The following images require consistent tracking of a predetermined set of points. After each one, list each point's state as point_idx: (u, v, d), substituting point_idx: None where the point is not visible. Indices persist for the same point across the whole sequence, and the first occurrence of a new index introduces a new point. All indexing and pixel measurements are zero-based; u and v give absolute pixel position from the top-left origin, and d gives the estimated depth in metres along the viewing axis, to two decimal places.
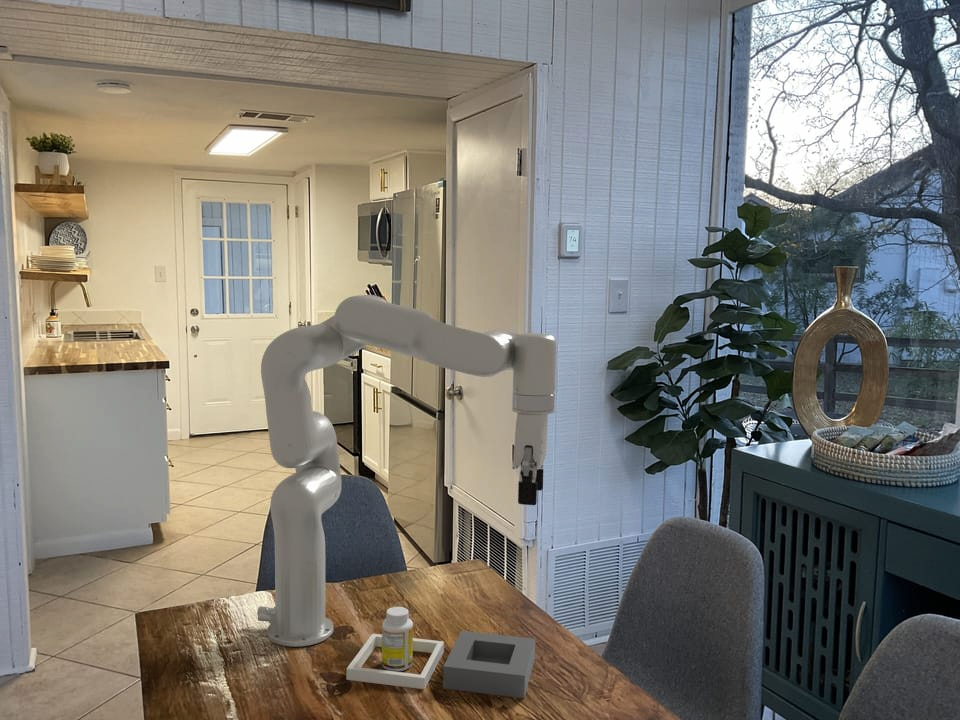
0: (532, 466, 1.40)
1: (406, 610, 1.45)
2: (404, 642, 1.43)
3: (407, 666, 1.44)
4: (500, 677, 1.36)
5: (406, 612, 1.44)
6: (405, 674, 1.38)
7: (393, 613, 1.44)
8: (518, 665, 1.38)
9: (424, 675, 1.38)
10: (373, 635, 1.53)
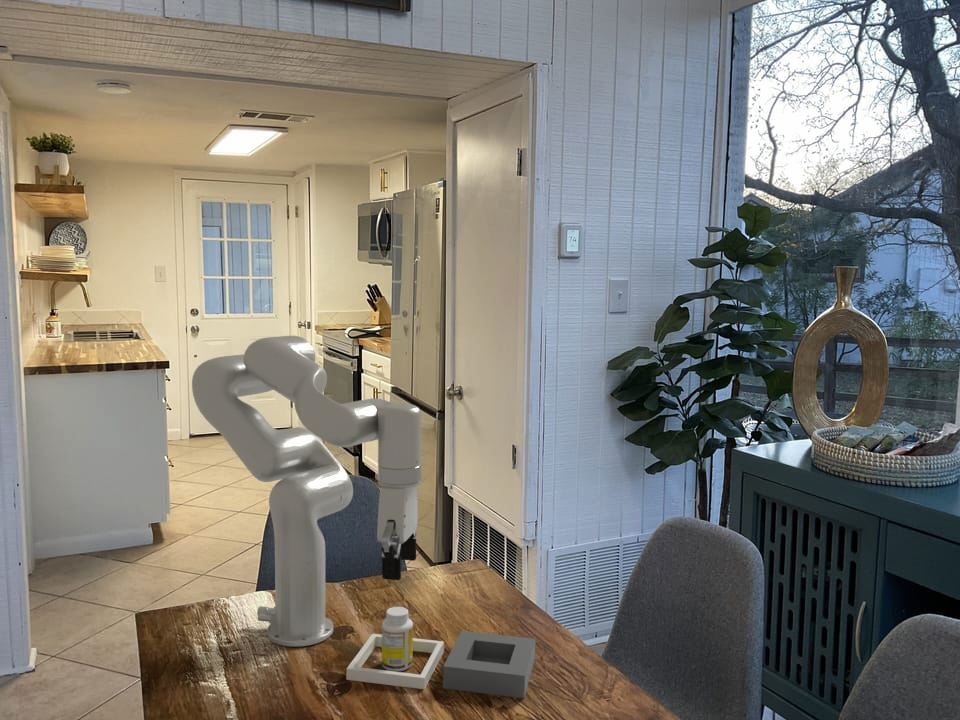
0: (395, 540, 1.38)
1: (406, 610, 1.45)
2: (404, 642, 1.43)
3: (407, 666, 1.44)
4: (500, 677, 1.36)
5: (406, 612, 1.44)
6: (405, 674, 1.38)
7: (393, 613, 1.44)
8: (518, 665, 1.38)
9: (424, 675, 1.38)
10: (373, 635, 1.53)
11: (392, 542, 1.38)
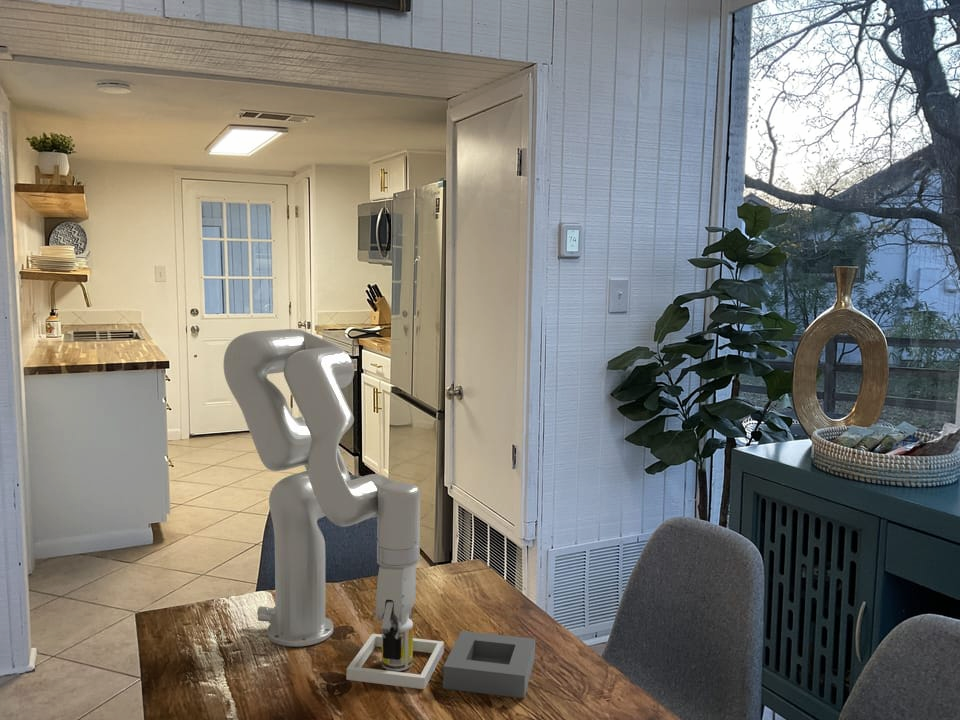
0: (395, 622, 1.41)
1: None
2: (404, 642, 1.43)
3: (407, 666, 1.44)
4: (500, 677, 1.36)
5: None
6: (405, 674, 1.38)
7: None
8: (518, 665, 1.38)
9: (424, 675, 1.38)
10: (373, 635, 1.53)
11: (392, 623, 1.41)
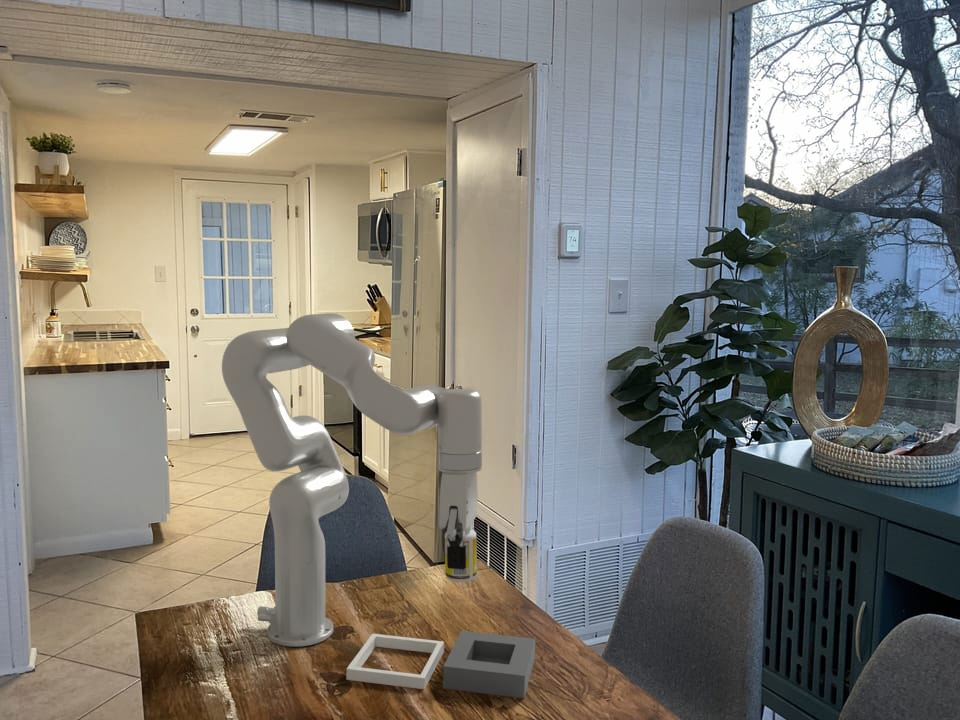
0: (459, 530, 1.37)
1: None
2: (469, 551, 1.39)
3: (472, 577, 1.40)
4: (500, 677, 1.36)
5: None
6: (405, 674, 1.38)
7: None
8: (518, 665, 1.38)
9: (424, 675, 1.38)
10: (373, 635, 1.53)
11: (456, 531, 1.38)
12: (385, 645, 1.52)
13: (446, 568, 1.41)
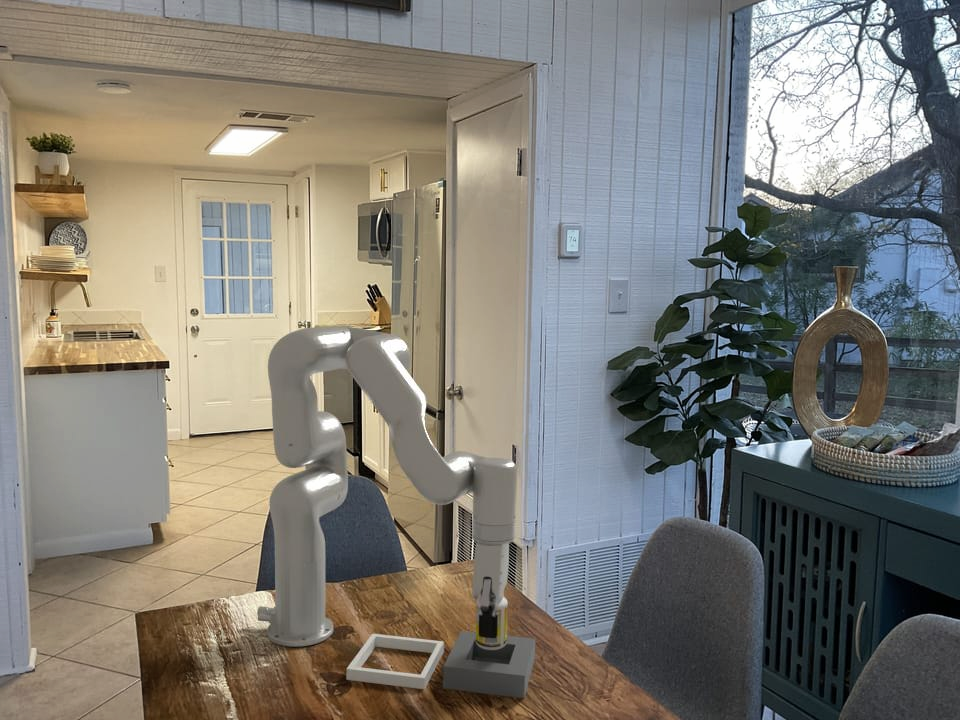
0: (492, 599, 1.38)
1: None
2: (500, 620, 1.40)
3: (503, 645, 1.41)
4: (500, 677, 1.36)
5: None
6: (405, 674, 1.38)
7: None
8: (518, 665, 1.38)
9: (424, 675, 1.38)
10: (373, 635, 1.53)
11: None
12: (385, 645, 1.52)
13: (477, 635, 1.42)
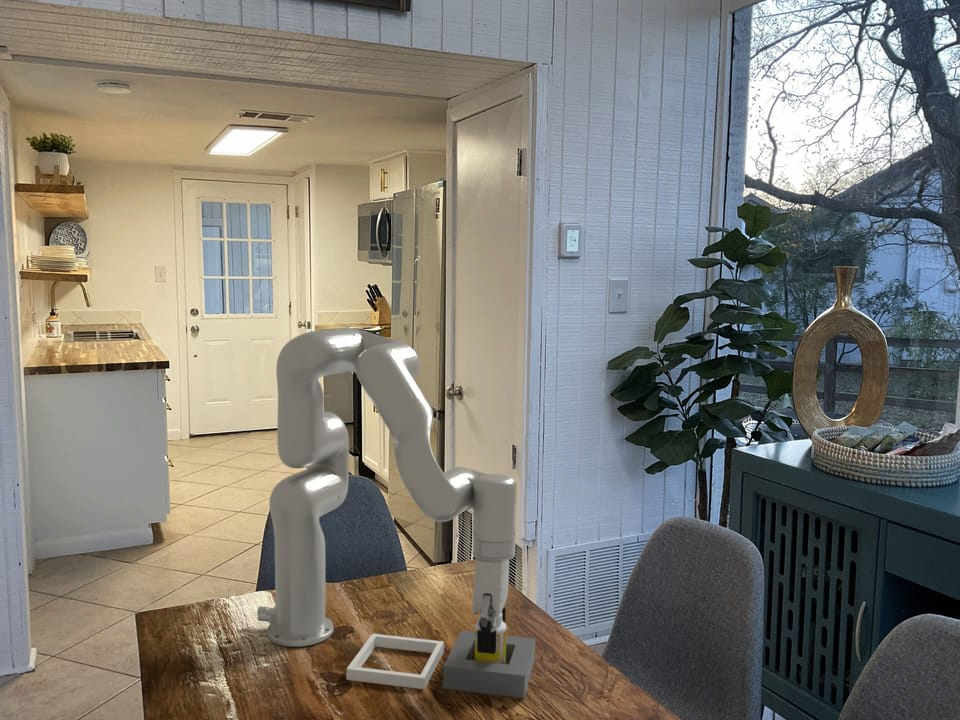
0: (491, 614, 1.37)
1: None
2: (499, 644, 1.40)
3: None
4: (500, 677, 1.36)
5: (500, 614, 1.42)
6: (405, 674, 1.38)
7: None
8: (518, 665, 1.38)
9: (424, 675, 1.38)
10: (373, 635, 1.53)
11: (488, 615, 1.38)
12: (385, 645, 1.52)
13: (476, 659, 1.42)
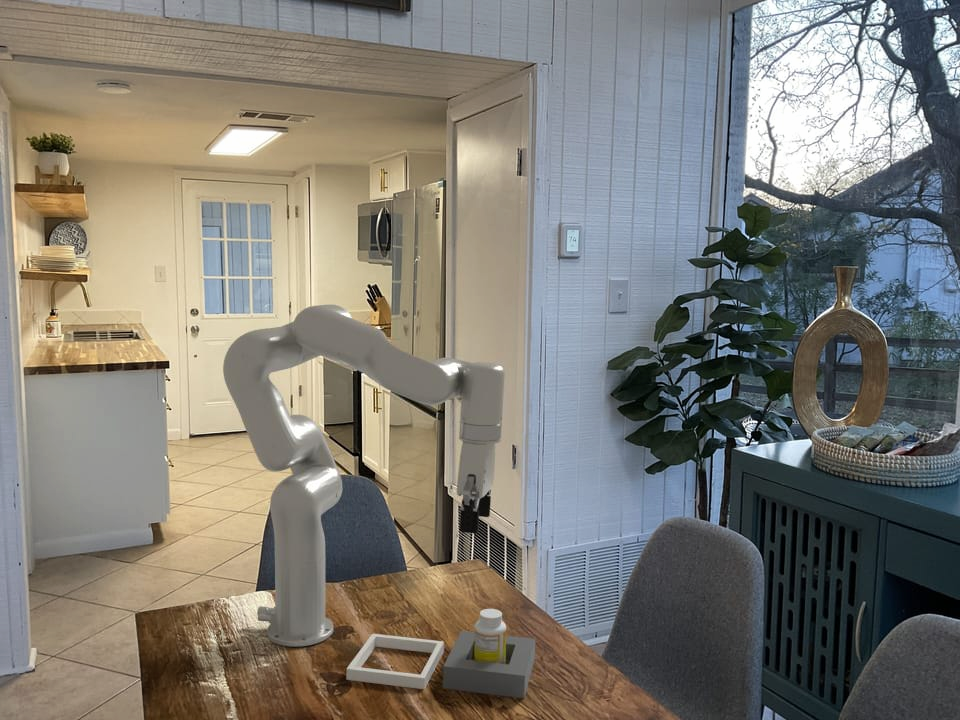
0: (475, 495, 1.42)
1: (499, 612, 1.42)
2: (499, 644, 1.40)
3: None
4: (500, 677, 1.36)
5: (500, 614, 1.42)
6: (405, 674, 1.38)
7: (487, 615, 1.41)
8: (518, 665, 1.38)
9: (424, 675, 1.38)
10: (373, 635, 1.53)
11: (471, 496, 1.42)
12: (385, 645, 1.52)
13: (476, 660, 1.42)
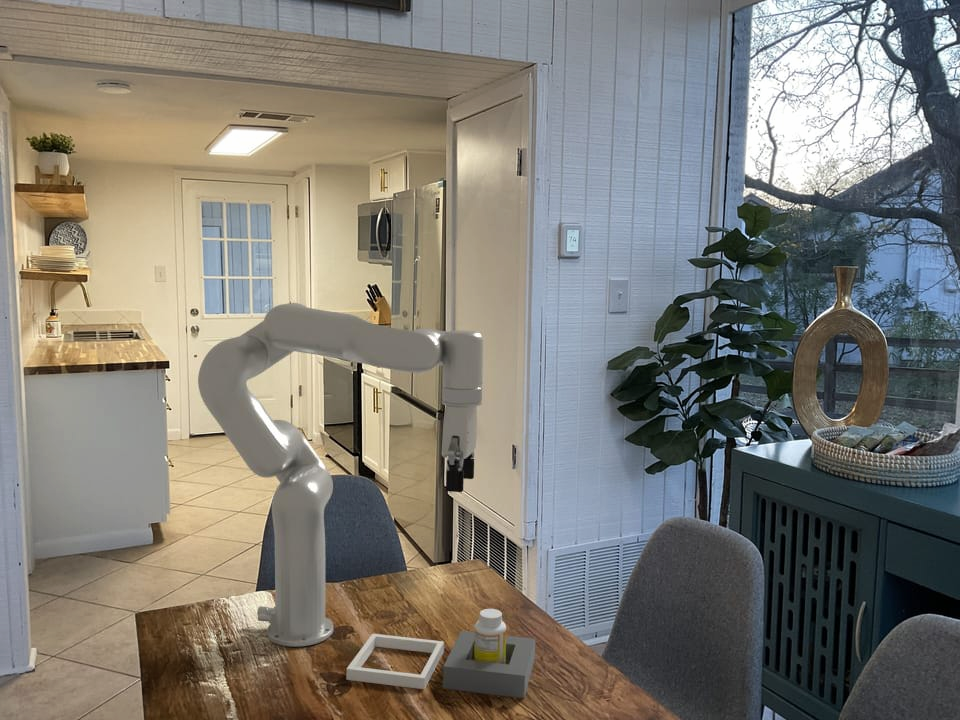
0: (459, 455, 1.49)
1: (499, 612, 1.42)
2: (499, 644, 1.40)
3: None
4: (500, 677, 1.36)
5: (500, 614, 1.42)
6: (405, 674, 1.38)
7: (487, 615, 1.41)
8: (518, 665, 1.38)
9: (424, 675, 1.38)
10: (373, 635, 1.53)
11: (455, 457, 1.49)
12: (385, 645, 1.52)
13: (476, 660, 1.42)
